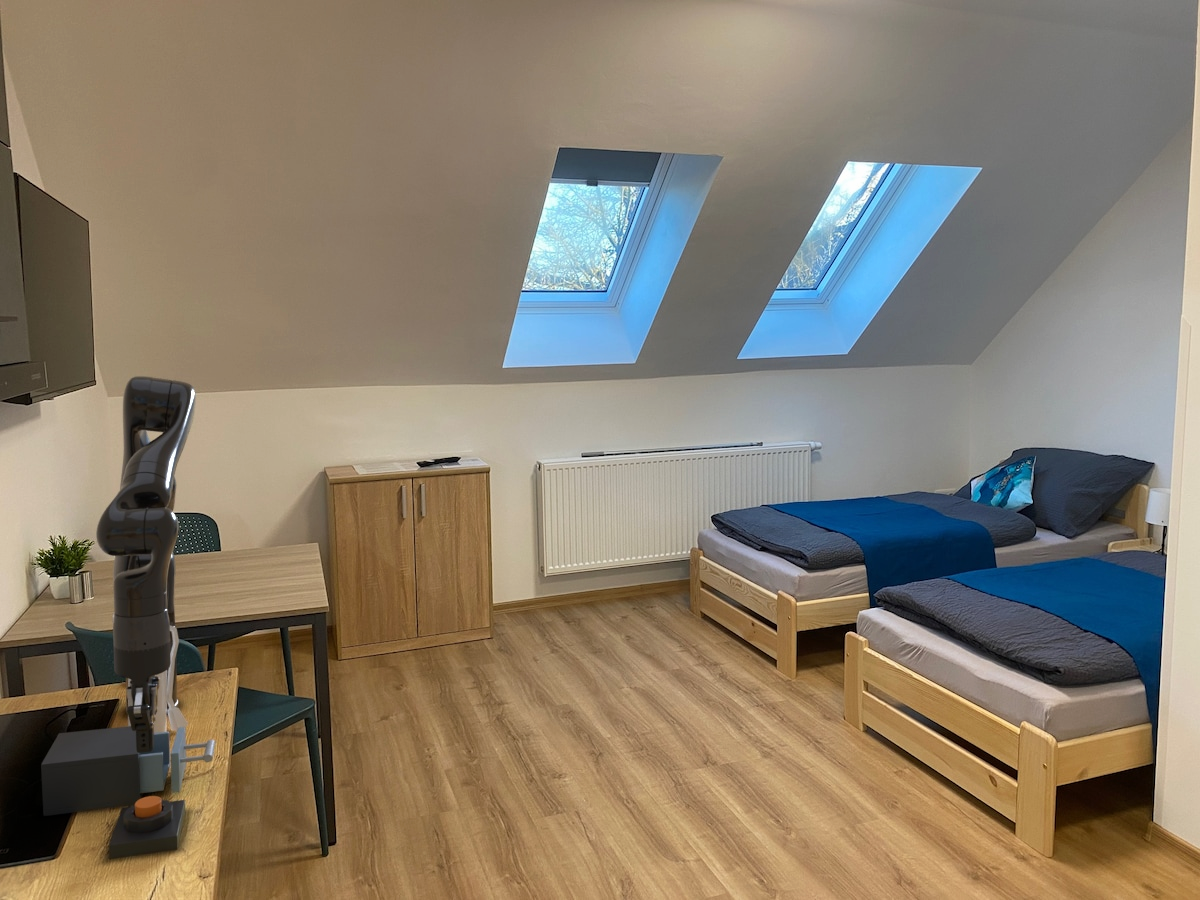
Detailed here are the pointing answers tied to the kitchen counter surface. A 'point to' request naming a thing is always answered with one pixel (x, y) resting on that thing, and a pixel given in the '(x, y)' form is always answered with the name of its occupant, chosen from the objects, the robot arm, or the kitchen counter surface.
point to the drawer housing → (91, 771)
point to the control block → (147, 831)
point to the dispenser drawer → (158, 761)
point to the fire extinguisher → (167, 695)
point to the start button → (148, 806)
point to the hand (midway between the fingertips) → (145, 750)
